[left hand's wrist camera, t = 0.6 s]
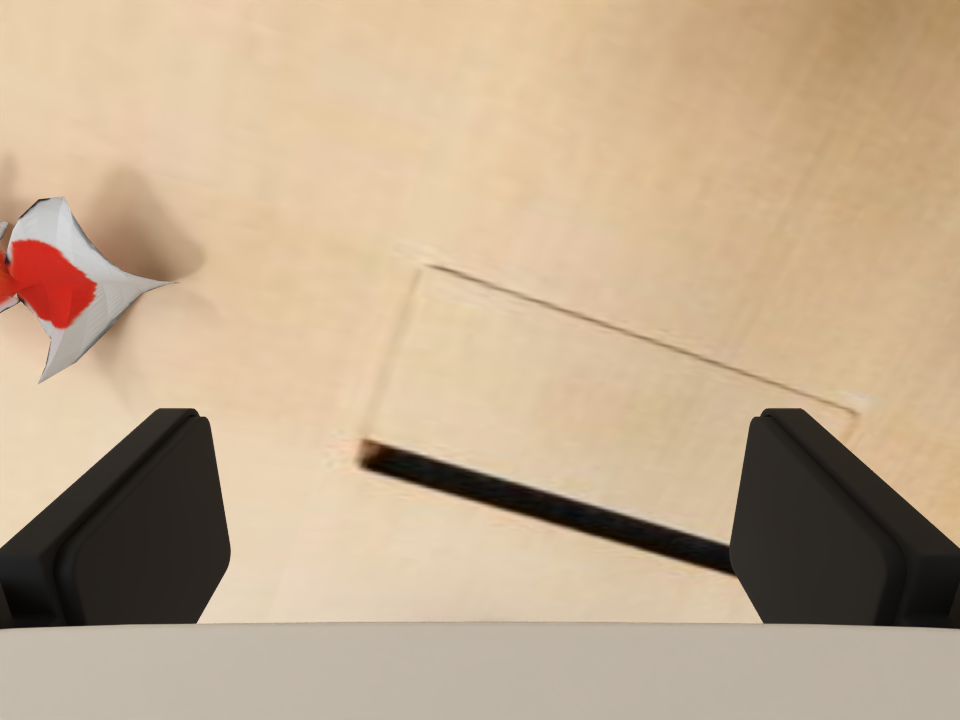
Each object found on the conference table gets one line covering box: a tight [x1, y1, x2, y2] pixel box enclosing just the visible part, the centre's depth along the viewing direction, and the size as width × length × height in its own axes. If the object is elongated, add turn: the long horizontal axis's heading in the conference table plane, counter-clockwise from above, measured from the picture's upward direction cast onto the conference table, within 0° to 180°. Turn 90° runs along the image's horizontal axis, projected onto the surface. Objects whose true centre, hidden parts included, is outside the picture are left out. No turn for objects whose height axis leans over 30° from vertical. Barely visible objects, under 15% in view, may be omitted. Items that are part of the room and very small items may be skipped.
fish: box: [0, 197, 178, 384], centre depth 37 cm, size 11×16×10 cm
